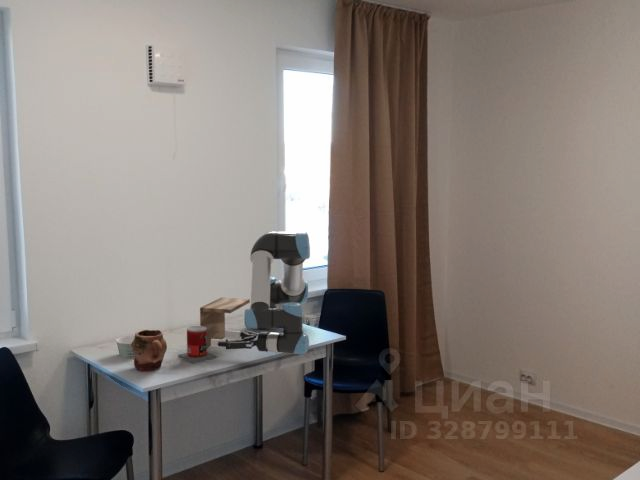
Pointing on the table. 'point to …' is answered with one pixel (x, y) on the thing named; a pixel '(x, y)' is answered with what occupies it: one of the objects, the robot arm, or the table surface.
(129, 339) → the food container
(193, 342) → the canned food
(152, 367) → the terracotta animal pitcher
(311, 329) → the table surface
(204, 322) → the walnut shelf
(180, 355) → the rubber mat
